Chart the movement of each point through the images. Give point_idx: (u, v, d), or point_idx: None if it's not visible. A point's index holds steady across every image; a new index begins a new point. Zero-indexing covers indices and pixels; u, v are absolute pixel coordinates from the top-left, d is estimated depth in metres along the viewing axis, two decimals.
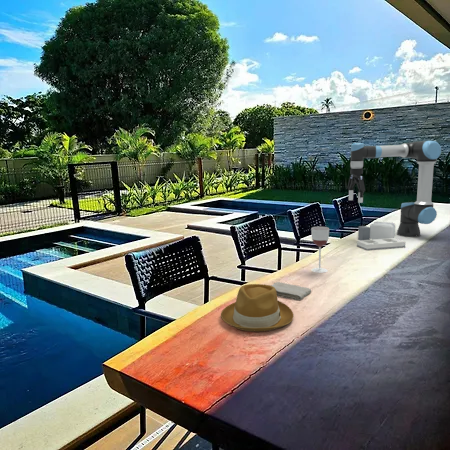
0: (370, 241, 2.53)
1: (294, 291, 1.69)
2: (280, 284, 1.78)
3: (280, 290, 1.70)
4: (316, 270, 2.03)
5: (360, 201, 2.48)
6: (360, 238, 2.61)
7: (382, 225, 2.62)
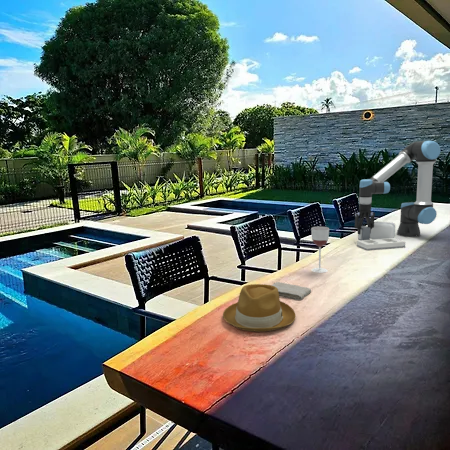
0: (370, 241, 2.53)
1: (294, 291, 1.69)
2: (280, 284, 1.78)
3: (280, 290, 1.70)
4: (316, 270, 2.03)
5: (359, 237, 2.61)
6: None
7: (382, 225, 2.62)
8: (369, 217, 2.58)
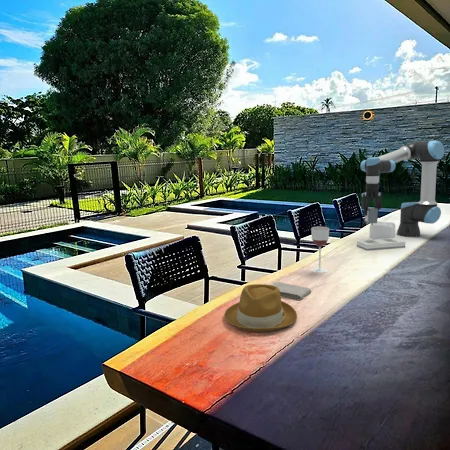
0: (370, 241, 2.53)
1: (294, 291, 1.69)
2: (280, 284, 1.78)
3: (280, 290, 1.70)
4: (316, 270, 2.03)
5: (365, 219, 2.47)
6: None
7: (382, 225, 2.62)
8: (376, 197, 2.43)
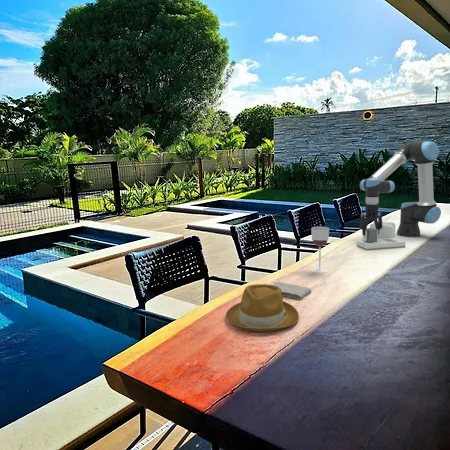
0: None
1: (294, 291, 1.69)
2: (280, 284, 1.79)
3: None
4: (316, 270, 2.03)
5: (364, 239, 2.48)
6: (366, 241, 2.49)
7: (382, 225, 2.62)
8: (376, 218, 2.45)
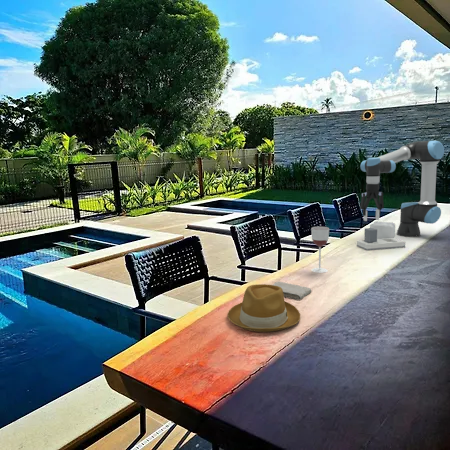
0: None
1: (294, 291, 1.69)
2: (280, 284, 1.79)
3: None
4: (316, 270, 2.03)
5: (364, 219, 2.46)
6: (366, 241, 2.49)
7: (382, 225, 2.62)
8: (377, 197, 2.43)
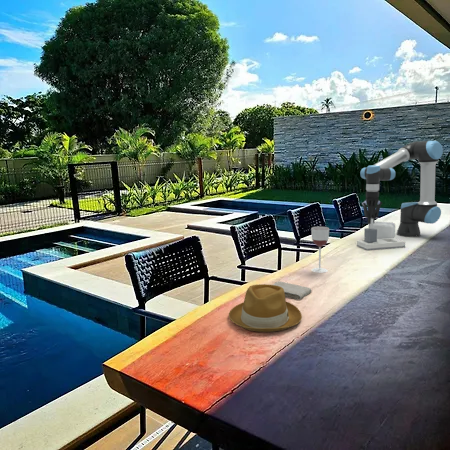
0: None
1: (294, 290, 1.69)
2: (281, 283, 1.79)
3: None
4: (316, 270, 2.03)
5: (369, 227, 2.47)
6: (366, 241, 2.49)
7: (382, 225, 2.62)
8: (375, 206, 2.44)
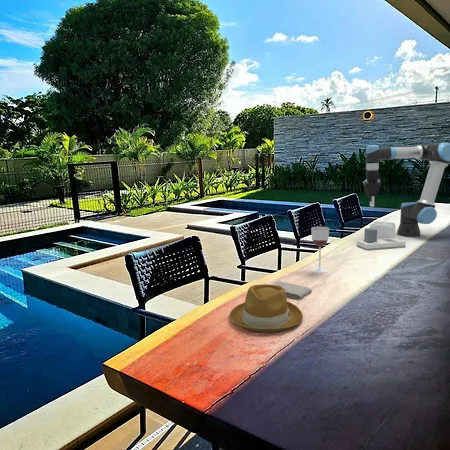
0: None
1: (294, 290, 1.70)
2: (281, 283, 1.79)
3: None
4: (316, 270, 2.03)
5: (370, 205, 2.58)
6: (366, 241, 2.49)
7: (382, 225, 2.62)
8: (376, 184, 2.55)
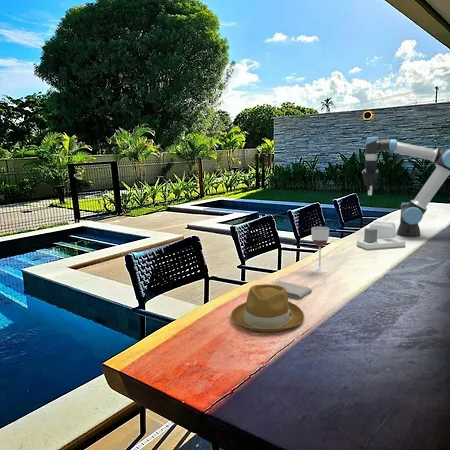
0: None
1: (294, 290, 1.70)
2: (281, 283, 1.79)
3: None
4: (316, 270, 2.03)
5: (368, 194, 2.73)
6: (366, 241, 2.49)
7: (382, 225, 2.62)
8: (374, 174, 2.69)
